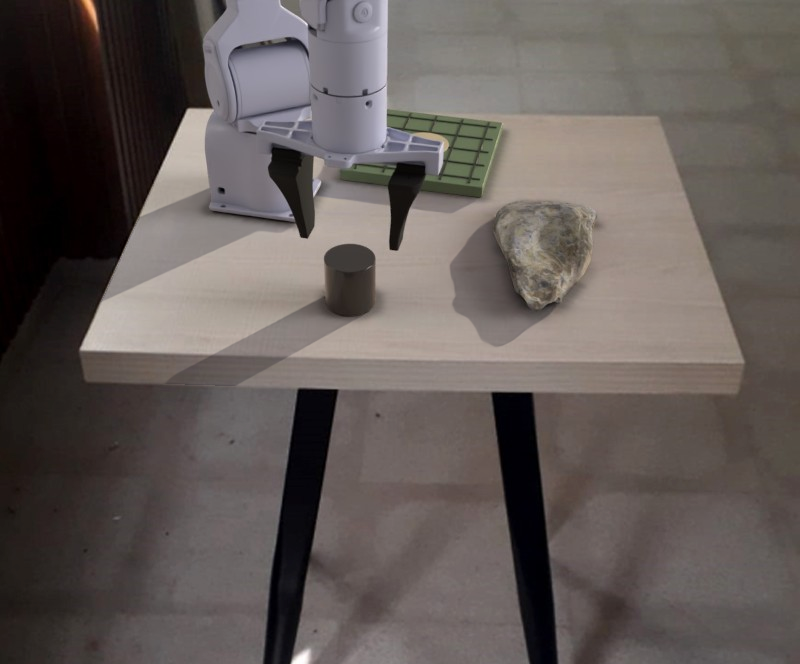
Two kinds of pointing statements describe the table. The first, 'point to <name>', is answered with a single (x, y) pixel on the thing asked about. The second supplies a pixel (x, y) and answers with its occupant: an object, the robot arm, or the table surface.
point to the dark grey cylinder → (350, 279)
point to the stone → (545, 247)
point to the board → (462, 157)
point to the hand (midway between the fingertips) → (351, 238)
